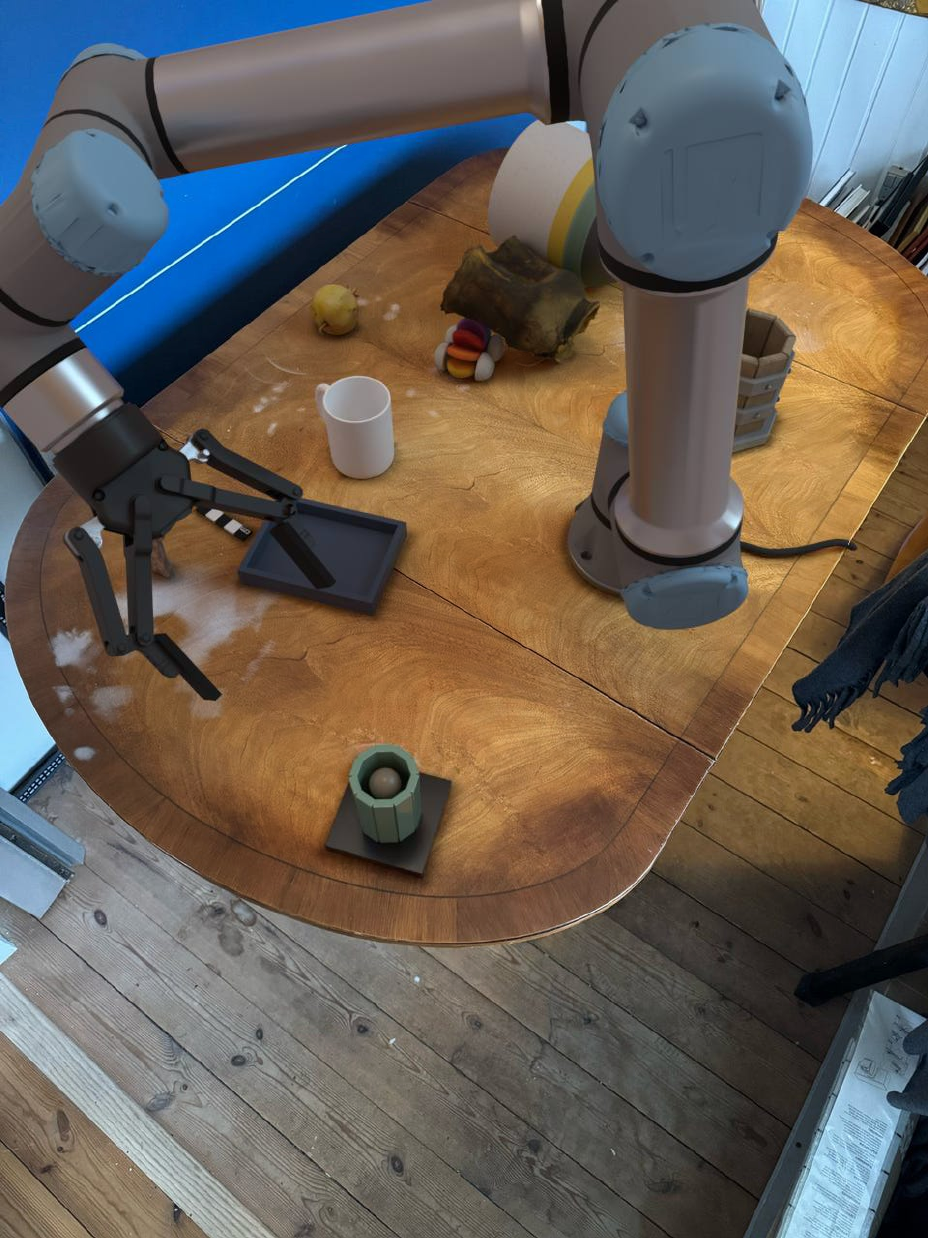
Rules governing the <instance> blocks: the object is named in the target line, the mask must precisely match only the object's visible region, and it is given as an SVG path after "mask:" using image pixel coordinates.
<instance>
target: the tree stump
mask: <svg viewBox="0 0 928 1238" xmlns="http://www.w3.org/2000/svg"><path fill="white" fill-rule="evenodd" d="M439 307H440V310H439V311H441V312H444V314H445V315H448V314H455V315H458V316H460V317H462V318H467V319H471V320H474V321H477V322H479V323H481V324H483V325H484V326H486V327H488V328H489V329H491V331H492V332H494V333H495V334H498V335H499V336H500V337H501V338H502V340H504V344H505V345H506V346H507V347H508V348H509V349H510V348H511V349H514V350H517V351H519V352H524V353H530V354H532V356H533V357H534V358H537V359H552V360H554V361H555V362H556V364H558V365H562V363H563V362H564V361H567V359H568V358H569V357H571V355H572V354H573V348H574V345H575V343H574V339H575V338H576V336H578V335H579V334H583V333H586V330H587V328H588V326H590V325H589V324H590V322H591V321H592V320H593V321H594V320H595V318H596V316H597V315H598V313H599V309H600V307H601V301H599V300H596V301H590V300H588V298H587V294H586V290H585V287H584V286H583V285H582V284H581V282H580V280H579V279H578V277H577V276H576V274H575V273H574V272H572V271H570V270H566V269H559V268H557V267H555V266H553V265H551V264H550V263H548V262H546V261H545V260H543V259H541V258H540V257H538V256H537V255H535V254H534V253H533V252H531V251H530V250H529V249H527V248H526V247H525V246H523V245H522V244H521V243H520V241H519V240H518V239H517V236H514V235H513V236H511V237H509V238H506V239H505V240H504V241H503V243H502V244H500V246H499V247H498V246H497V249H496V250H492V251H488V252H486V251H485V248H484V247H483V245H482V244H479V245H478V244H477V245H476V246H473V247H470V248H468V249H467V250H466V251H465V252H464V254H463V256H462V257H461V265H460V267H458V269H456V270H454V274H453V277H452V278H451V279H450V281H449V282H448V283H447V284H446V286H445V288H444V289H443V292H442V299H441V302H440V305H439Z"/></svg>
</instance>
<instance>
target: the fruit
mask: <svg viewBox="0 0 928 1238" xmlns="http://www.w3.org/2000/svg"><path fill="white" fill-rule="evenodd" d="M357 290H358V287H356V288H353V289H352V288H351V284H350V283H349V282H348V283H347V287H345V286H342V285H340V284H335V283H331V284H330V283H329V284H325V285H323V286H322V287H320V288H319V289H318V290H317V291H316V292H315V293H314V295H313V297H312V301H311V304H310V306H309V307H310V308H309V314H310V316H311V319H312V320H313V322H314V323H315V324H316V325H317V326H318V327H319V328H318V334H319V336H321V337H323V336H324V333H323V332H322V330H323V331H324V332H326V333H328V334H331V335H333V336H341V335H345V334H347V333H348V332H349V333H350V332H351V331H352V330H353V329H354V328H355V326H356V324H357V322H358V317H359V313H360V305H359V303H358V301H357V298H358V297H360V295H359V294H358V293H357Z"/></svg>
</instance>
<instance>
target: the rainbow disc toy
mask: <svg viewBox="0 0 928 1238" xmlns="http://www.w3.org/2000/svg"><path fill="white" fill-rule="evenodd" d="M504 350H505V341H504V339H503V337H502V336H500V335H499V334H498V333H496V332H494V333H493V334H492V330H491V329H489V328H488V327H486V326H484V325H483V324H481V323H479V322H477V321H474V320H471V319H467V318H465V317H462V319H459V321H458V323H457V324H454V325H452V326H450V327H449V328H448V329H447V330H446V333H445V335H444V342H442V343H440V344H438V346H436V349H435V351H434V355H433V360H434V363H435V365H436V367H437V368H439V369H440V370H441V371H443V372H444V371H448V372H449V374H450V375H451V376H453V377H454V378H458V379H465V378H469V377H471V376H473V375H474V380H475V381H477V382H483V381H486V380H488V379H490V378H491V376H492V375H493V373H494V369H495V362H497V361H498V360H500V359H501V358H502V357H503V354H504Z"/></svg>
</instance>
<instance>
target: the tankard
mask: <svg viewBox="0 0 928 1238" xmlns="http://www.w3.org/2000/svg"><path fill="white" fill-rule="evenodd" d="M796 342H797V335H796V334H794V332H793V331H792V330H791V329H790V327H789V326H788V325H787V324H786V323H785V322H784V320H783V319H782V318H781V317H778V315H775V314H772V313H768V312H765V311H761V310H758V309H754V308H750V307H748V308H747V309H746V319H745V329H744V339H743V349H742V359H741V369H740V379H739V389H738V399H737V409H736V419H735V429H734V439H733V448H732V453H735V452H740V451H742V450H747V449H750V448H754V447H757V446H762V445H766V444H767V441H768V439H769V436H770V433H771V431H772V428H773V426H774V423H775V420H776V418H777V415H778V413H779V411H778V409H777V408H776V405H777V403H779V402H780V401H781V397H780V394H781V392H782V389H783V386H784V384H785V381H786V379H787V377H788V375H790V374H791V373H792V371H793V369H792V368H791V367H792V364H793V361H794V358H795V356H796V352H795V351H794V347H795V344H796Z"/></svg>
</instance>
